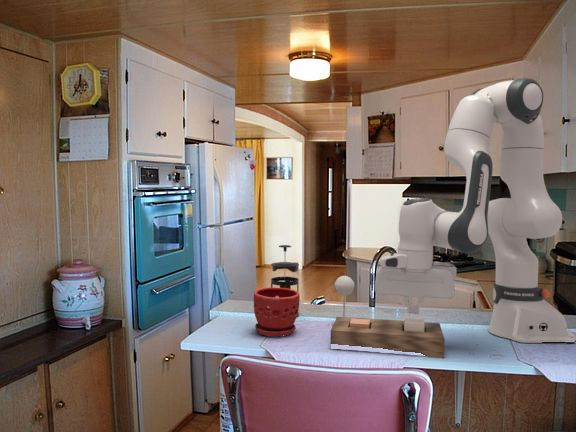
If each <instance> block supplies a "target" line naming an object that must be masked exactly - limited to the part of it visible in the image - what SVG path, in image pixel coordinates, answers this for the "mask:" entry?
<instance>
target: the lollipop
mask: <svg viewBox="0 0 576 432" xmlns="http://www.w3.org/2000/svg"><path fill="white" fill-rule="evenodd" d="M334 289H335V291H336V292H337V293H338V295H341V296H343V304H342V305H343V308H342V309H343V310H342V313H343V315H342V317H346V314H345V313H346V296H348V295H350V294H352V292H353V291H354V289H355V282H354V280H353V279H352V278H351V277H350V276H347V275H341V276H339V277H337V279H336V280H335V282H334Z"/></svg>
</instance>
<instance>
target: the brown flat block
mask: <svg viewBox="0 0 576 432" xmlns="http://www.w3.org/2000/svg"><path fill="white" fill-rule="evenodd" d="M351 318H353V319H367V318H365V317H364V318H362V317H350V316H349V317H348V316H347V317H346V316H345V317H343V316H336V318H335V320H334V322H333V325H332V326H331V328H330V339H329V340H330V344H338V345H349V346H361V347H372V348H383V349H388V350H394V351H402V352H415V353H421V354H423V355H425V356H428V357H427V358H435V359H437V358H439V359H444V358H445V337H444V332H443V330H442V327H441V324H440V322H427V321H424V332H413V331H404V320H395V319H380V318H379V319H378V318H368V319H369V320H370V329H368V328H354V327H350V321H351Z"/></svg>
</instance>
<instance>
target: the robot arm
mask: <svg viewBox="0 0 576 432" xmlns="http://www.w3.org/2000/svg"><path fill="white" fill-rule="evenodd" d="M543 103H544V91H543V89H542V87H541V86H540V85H539V83H538V81H537V80H535V79H533V78H529V77H527V78H526V77H524V78H523V77H520V78H516V79H514V80H505V81H501V82H497V83H495V84H492V85H489V86H486V87H483V88H482V87H481V88H479V89H476V90H475V91H473V92H472V93H470V95H467V96H464V97H463V98H462V99H461V100H460V101H459V102H458V105H457V106H456V109H455V111H454V112H453V115H452V116H451V120H450V122H449V125H448V129H447V133H446V136H445V141H444V145H443V150H444V151H443V153H444V155H445V157H446V159H447V161H448V162H449V163H450V164H451V165H453V167H455V168H458V169H460V170H461V171H462V172H463V173H464V175H465V179H466V184H465V190H464V197H463V198H464V199H463V204H462V209H461V210H460V211H458V212H456V211H448V210H446V209H444V208H441V207H440V206H438V205H437V204H436V203H435V202H433V200H432V199H431V198H428V197H419V198H418V197H417V198H416V197H415V198H410V199H407V200H405V201H404V202H403V203H402V204H401V207H400V211H399V218H398V235H399V242H398V247H397V252H394V253H391V254H387V255H384V256H382V257H381V258H380V262H379V263H380V266H379V267H378V268H377V272H376V275H375V282H374V292H375V293H376V295H382V296H383V295H385V296H397V297H398V296H399V297H403V301H404V303H405V306H406V308H407V309H406V312H407V314H413V315H420V314H419V313H420V308H421V306H422V305H423V304H424V301H425V300H424V299H425V298H430V299H431V298H432V299H447V300H451V299H453V298H454V297H455V295H456V289H455V279H456V277H457V267H456V266H455V264H453V263H451V262H449V261H445V262H442V261H433V258H434V247H440V248H443V249H449V250H453V251H457V252H460V253H463V254H467V255H469V254H474V253H476V252H478V251H479V250H480V249H481V248H482V247H483V246H484V245H485V243H486V242H487V240H488V236H489V237H490V238H489V239H490V241H491V243H492V246H493V251H494V256H495V282H494V283H493V288H492V301H493V308H492V314H491V317H490V318H491V319H490V321H489V322H490V323H489V325H488V328H487V331H488V332H489V333H491V334H493V335H495V336H497V337H501V338H505V339H509V340H513V341H516V342H518V343H522V344H523V343H525V344H526V343H528V344H529V343H530V344H531V343H532V344H535V343H536V344H543V343H542V342H565V341H575V340H576V335H575V334H574V333H573V332H571V331H570V330H568V325H567V321H566V318H565V317H564V315H563V314H562V313H561V312H560V311H559V310H558V309H556V308H555V307H554V306H553V305H551V304H550V303H549V302H547V300H545V298H546V299H547V298H548V299H549V298H550V297H551V292H550V291H549V290H547V289H545V288H543V287H540V286H539V284H538V282H539V259H538V257H537V256H536V254H535V253H534V252H533V251H532V250H531V248H530V246H529V245H528V241H527V240H528V239H530V240H531V239H532V240H537V239H544V238H551V237H554V236H555V235H556V234H557V233H559V231H560V230H561V227H562V224H563V214H562V211H561V209H560V207H559V206H558V205H557V204H556V203H555V202H554V201H553V200H552V198H551V197H550V194H549V193H548V191H547V188H546V187H547V186H546V184H545V180H544V179H545V178H544V153H545V152H544V151H545V150H544V149H545V140H544V139H545V135H544V133H545V132H544V126H543V120H542V116H541V115H540V114H541V113H540V112H541V111H542V107H543ZM494 125H500V127H501V128H502V137H501V145H500V164H499V177H500V179H501V181H503V182H504V183H505V184H506V185H507V187H508V190H509V193H510V194H509V195H510V198H509V197H502V198H501V197H500V198H496V199H492V200H490V197H491V190H492V189H491V187H492V179H493V160H492V158H491V155H490V154H489V146H490V142H491V141H490V140H491V137H492V133H493V127H494ZM410 297H416V298H417V301H418V302H417V304H416V305H411V304H410V302H409V300H410Z"/></svg>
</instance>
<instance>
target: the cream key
mask: <svg viewBox="0 0 576 432" xmlns="http://www.w3.org/2000/svg"><path fill="white" fill-rule="evenodd" d="M403 321H404V331H413V332H424V322H425V320H424V318H415V317H412V318H410V317H404V318H403Z"/></svg>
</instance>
